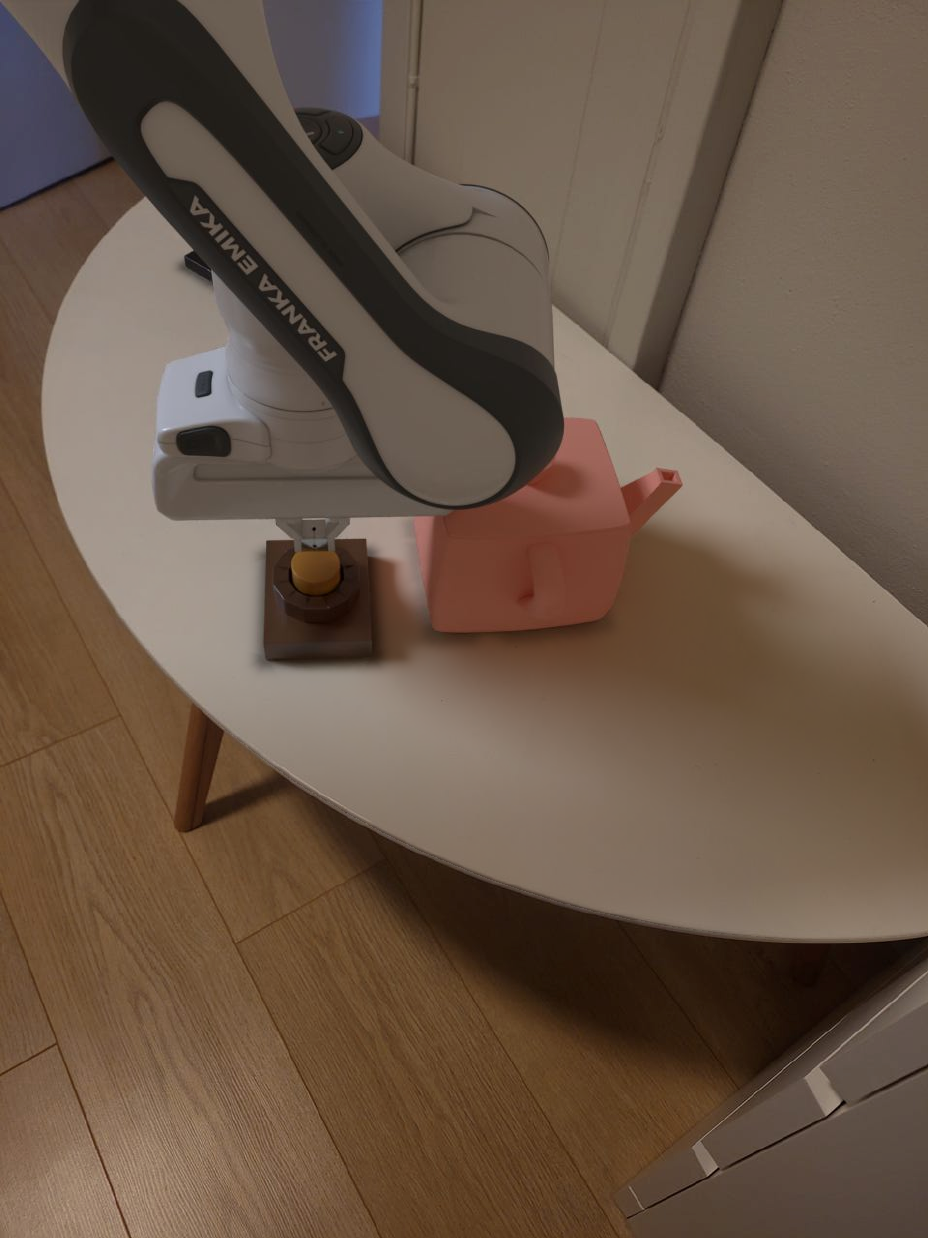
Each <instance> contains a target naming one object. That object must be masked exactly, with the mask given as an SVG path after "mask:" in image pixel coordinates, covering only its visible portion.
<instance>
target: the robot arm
mask: <svg viewBox="0 0 928 1238" xmlns="http://www.w3.org/2000/svg"><path fill="white" fill-rule="evenodd" d="M0 3H1V4H2V6H3V7H4V8H5V9H6V10H7V11H8V13H10V15H12V17H13V18H14V19H15V20H16V21H17V23H18V24H19V25H20V27H21V28H22V29H23V30H24V31H25V33H27V34H28V36H29V37H30V38H31V39H32V40H33V42H34V43H35V45H37V47H38V48H39V49H40V51H41V52H42V53H43V54H44V55H45V57H46V58H47V60H48V61H49V62H50V64H51V65H52V66H53V68H54V70H55V71H56V72H57V73H58V74H59V76H60V77H61V79H62V81H63V82H64V83H65V85H66V86H67V88H68V90H69V91H70V92H71V94H72V95H73V97H74V100H75V102H76V104H77V105H78V107H79V109H80V110H81V112H82V114H83V115H84V117H85V118H86V120H87V121H88V123H89V125H90V126H91V127H92V129H93V130H94V132H95V134H96V136H97V137H98V138H99V140H100V141H101V142H102V144H103V146H104V147H105V148H106V150H107V151H108V152H109V154H110V155H111V157H112V158H113V159H114V160H115V162H116V163H117V164H118V166H120V168H121V169H122V170H123V172H124V173H125V174H126V175H127V176H128V178H129V179H130V180H131V181H132V183H134V185H135V186H136V187H137V188H138V190H139V191H140V192H141V193H142V195H143V196H145V198H146V200H148V201H149V202H150V204H151V205H152V206H153V207H154V208H155V209H156V210H157V211H158V212H159V213H160V215H161V216H162V217H163V219H165V221H167V223H168V224H169V225H170V226H171V227H172V228H173V229H174V230H175V231H176V233H177V234H178V235H179V236H180V237H181V238H182V239H183V240H184V242H185V243H187V245H188V246H189V247H190V248H191V249H192V251H193V250H194V251H195V252H196V253H197V254H198V255H199V257H200V258H201V259H202V260H203V261H204V262H205V263H206V264H207V265H208V266H209V267H210V269H211V272H212V279H213V282H212V285H213V287H212V288H213V293H214V299H215V304H216V307H217V310H218V313H219V315H220V317H221V319H222V321H223V322H224V324H225V328H226V330H227V337H226V342H225V345H223V346H222V347H218V348H215V349H211V350H208V351H204V352H201V353H197V354H192V355H189V356H185V357H181V358H178V359H175V360H172V361H170V362H168V363H167V364H166V365H165V367H164V370H163V373H162V376H161V380H160V384H159V386H158V391H157V397H156V405H155V433H154V434H155V436H154V441H153V450H152V458H151V469H150V470H151V473H150V476H151V477H150V478H151V479H150V480H151V489H152V496H153V497H152V498H153V501H154V506H155V509H156V510H157V512H159V513H160V514H161V515H162V516H164V517H165V518H167V519H169V520H171V521H172V522H173V521H174V522H185V521H186V522H187V521H190V522H191V521H239V520H244V521H245V520H275V526H277V528H279V529H280V531H282V532H284V533H285V534H286V535H287V536H288V537H289V538H290V540H294V549H295V552H314V551H315V552H328V551H335V539H338V537H339V536H340V535H341V534H342V533H343V531H345V530H346V529H347V527H348V526H349V525H350V524H351V519H356V518H357V519H358V518H409V517H410V518H411V517H412V518H414V517H420V516H446V515H448V514H450V513H451V512H452V511H454V510H465V509H473V508H478V507H482V506H486V505H489V504H492V503H495V502H498V501H500V500H502V499H504V498H506V497H509V496H510V495H512V494H514V493H515V492H517V491H518V490H520V489H521V488H523V487H524V486H526V485H527V484H528V483H529V482H530V481H532V480H533V479H534V478H535V477H536V476H537V475H538V474H539V473H540V472H541V471H542V470H544V469H545V468H546V466H547V465H548V464H549V463H550V462H551V461H552V459H553V458H554V456H555V455H556V453H557V451H558V449H559V447H560V445H561V442H562V439H563V434H564V418H565V417H564V411H563V406H562V399H561V394H560V393H561V392H560V386H559V381H558V375H557V372H556V367H555V366H556V365H555V343H554V342H555V339H554V316H553V315H554V314H553V313H554V312H553V302H552V291H551V290H552V289H551V287H552V286H551V273H550V271H551V270H550V255H549V248H548V244H547V241H546V238H545V234H544V233H543V231H542V229H541V227H540V226H539V224H538V222H537V221H536V219H535V218H534V217H533V215H532V214H531V213H530V212H529V211H528V210H527V209H526V208H525V207H524V206H523V205H521V204H520V203H519V202H518V201H517V200H515V199H514V198H512V197H511V196H509V195H507V194H506V193H503V192H501V191H499V190H497V189H495V188H491V187H487V186H484V185H479V184H470V183H457V182H454V181H451V180H448V179H445V178H443V177H439V176H437V175H435V174H433V173H430V172H428V171H426V170H423V169H422V168H419V167H418V166H415V165H413V164H412V163H410V162H408V161H406V160H404V159H402V158H401V157H399V156H397V155H396V154H395V153H393V152H391V151H390V150H389V149H388V148H386V147H385V146H384V145H382V144H381V142H379V141H378V139H376V138H375V136H374V135H373V134H372V133H371V132H370V131H369V129H368V128H367V127H365V125H363V123H361V122H360V121H359V120H357V119H356V118H355V117H352V116H350V115H348V114H347V113H343V112H340V111H337V110H333V109H327V108H323V107H322V108H321V107H313V106H303V107H301V106H300V107H293V106H292V104H291V101H290V99H289V96H288V94H287V91H286V89H285V86H284V83H283V80H282V78H281V75H280V72H279V68H278V65H277V62H276V58H275V55H274V51H273V47H272V43H271V38H270V33H269V29H268V25H267V24H268V23H267V19H266V15H265V8H264V3H263V0H0Z"/></svg>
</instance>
